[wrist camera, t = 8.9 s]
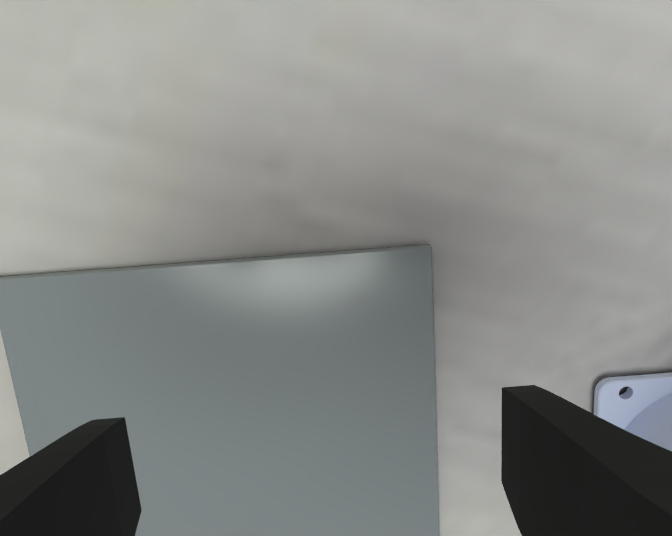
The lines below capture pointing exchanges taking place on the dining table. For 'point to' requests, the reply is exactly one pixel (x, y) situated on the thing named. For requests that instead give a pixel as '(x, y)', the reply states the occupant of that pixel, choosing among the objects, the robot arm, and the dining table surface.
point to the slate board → (245, 386)
